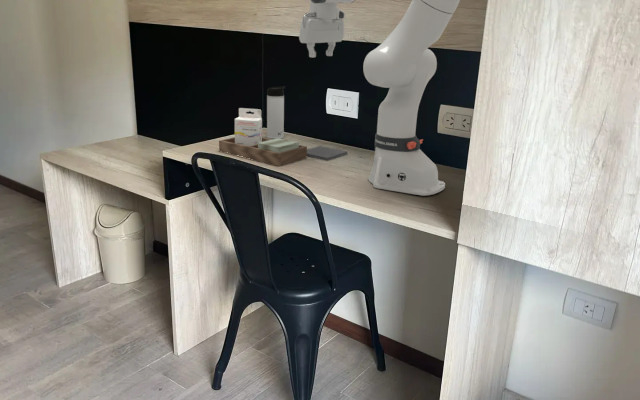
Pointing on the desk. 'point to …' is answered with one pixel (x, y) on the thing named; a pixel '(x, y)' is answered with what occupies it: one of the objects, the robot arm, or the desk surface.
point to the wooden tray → (263, 152)
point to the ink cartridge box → (248, 127)
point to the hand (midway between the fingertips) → (320, 56)
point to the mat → (325, 153)
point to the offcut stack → (278, 145)
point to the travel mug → (275, 112)
